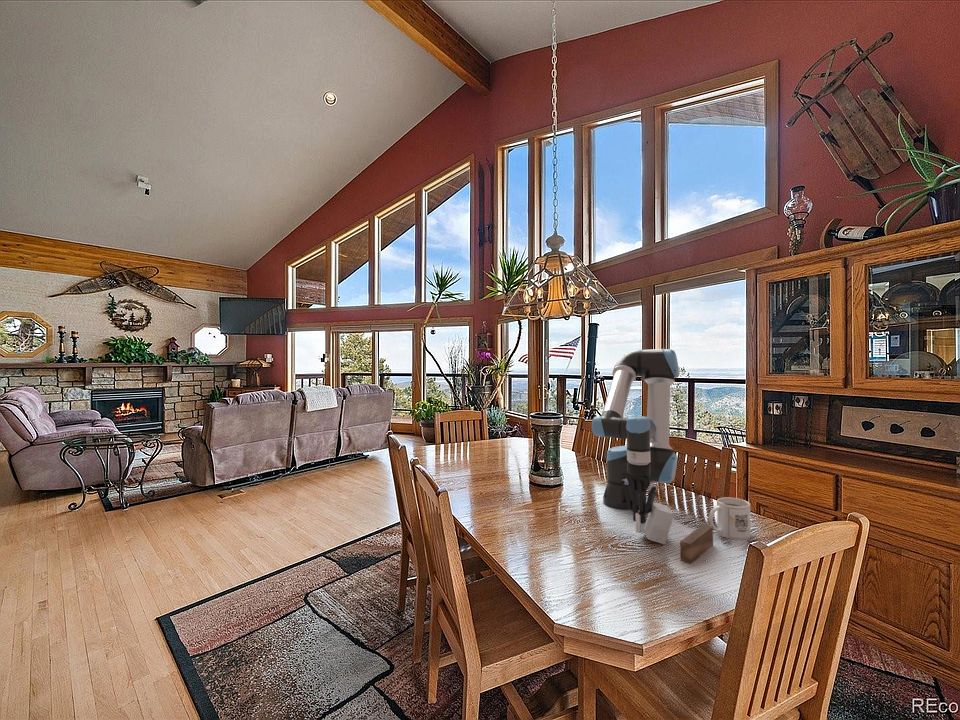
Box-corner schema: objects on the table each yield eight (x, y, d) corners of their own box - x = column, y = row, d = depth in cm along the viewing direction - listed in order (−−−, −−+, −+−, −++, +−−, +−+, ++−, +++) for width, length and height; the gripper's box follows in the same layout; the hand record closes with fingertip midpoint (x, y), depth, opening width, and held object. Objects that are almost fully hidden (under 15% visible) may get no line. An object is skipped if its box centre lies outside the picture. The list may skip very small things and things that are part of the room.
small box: (664, 545, 145) (674, 514, 144) (647, 539, 146) (656, 509, 145) (659, 535, 153) (668, 506, 152) (643, 529, 154) (651, 500, 153)
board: (680, 561, 134) (680, 541, 134) (703, 542, 146) (702, 524, 146) (690, 564, 132) (690, 544, 132) (713, 545, 144) (712, 526, 144)
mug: (750, 543, 145) (749, 509, 145) (708, 536, 151) (708, 503, 151) (750, 531, 154) (750, 499, 154) (711, 525, 160) (711, 494, 160)
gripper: (615, 461, 154) (616, 529, 155) (651, 467, 145) (653, 540, 145) (626, 457, 159) (627, 523, 160) (662, 463, 150) (663, 533, 150)
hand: (639, 531), depth 152 cm, fingers closed
